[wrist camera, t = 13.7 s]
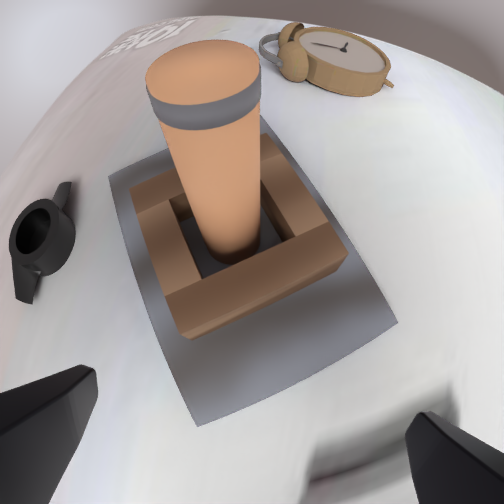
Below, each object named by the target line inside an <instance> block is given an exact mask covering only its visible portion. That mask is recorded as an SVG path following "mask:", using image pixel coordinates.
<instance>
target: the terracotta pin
mask: <svg viewBox="0 0 504 504" xmlns="http://www.w3.org/2000/svg"><path fill="white" fill-rule="evenodd" d="M145 80H146V89H147V92H148V95H149V98H150V101H151V104H152V107H153V109H154V112H155V114H156V116H157V118H158V119H159V122H160V125H161V128H162V131H163V133H164V136H165V139H166V142H167V145H168V147H169V150H170V153H171V156H172V158H173V161H174V164H175V167H176V169H177V172H178V175H179V177H180V180H181V183H182V185H183V188H184V191H185V193H186V196H187V199H188V201H189V204H190V206H191V209H192V211H193V214H194V217H195V219H196V222H197V224H198V227H199V229H200V232H201V234H202V237H203V239H204V242H205V244H206V247H207V249H208V251H209V253H210V255H211V256H212V257H213V258H214V259H215V260H217V261H219V262H221V263H223V264H228V265H235V264H237V263H239V262H241V261H243V260H246V259H248V258H250V257H252V256H254V255H255V253H256V252H257V250H258V248H259V245H260V97H261V66H260V63H259V57H258V55H257V53H256V52H255V51H254V50H253V49H251V48H250V47H248V46H246V45H244V44H242V43H238V42H234V41H229V40H204V41H197V42H193V43H189V44H185V45H182V46H179V47H177V48H175V49H172V50H170V51H168V52H167V53H165V54H163V55H162V56H160V57H159V58H158V59H157V60H155V61H154V62H153V63H152V64H151V66H150V67H149V68H148V70H147V72H146V76H145Z"/></svg>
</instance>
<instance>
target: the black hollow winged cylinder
mask: <svg viewBox="0 0 504 504" xmlns="http://www.w3.org/2000/svg"><path fill="white" fill-rule="evenodd" d="M71 183H72V182H63V183H61V184H59V186H58V188H57V191H56V193H55V195H54V197H53V199H52V201H51V200H49V199H40V200H37V201H35V202H33V203H31V204H30V205H29V206H27V207H26V208H25V209H24V210H23V211H22V212H21V214H20V215H19V216H18V218H17V219H16V221H15V223H14V225H13V228H12V230H11V234H10V238H9V251H10V255H11V258H12V270H13V279H14V288H15V296H16V299H17V300H19V301H22V302H24V303H28V304H32V303H33V297H34V291H35V287H36V283H37V280H38V277H39V276H48V275H51V274H53V273H55V272H56V271H58V270H59V269H60V268H61V267H62V266H63V265H64V264H65V262H66V261H67V259H68V258H69V256H70V254H71V252H72V249H73V246H74V242H75V227H74V224H73V222H72V220H71V219H70V218H69V217H68V216H67V215H66V214H65V213H64V212H63V211H62V208H63V207H64V205H65V203H66V201H67V198H68V195H69V192H70V188H71Z"/></svg>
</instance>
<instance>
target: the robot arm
mask: <svg viewBox="0 0 504 504" xmlns="http://www.w3.org/2000/svg"><path fill="white" fill-rule="evenodd" d="M97 398H98V386H97V377H96V371H95V370H94V369H93V368H91V367H88V366H85V365H77V366H75V367H72V368H69V369H67V370H64V371H61V372H59V373H56V374H53V375H51V376H48V377H45V378H42V379H40V380H37V381H34V382H31V383H28V384H25V385H23V386H20V387H17V388H14V389H11V390H8V391H5V392H2V393H0V504H49V502H50V500H51V498H52V496H53V494H54V492H55V490H56V488H57V486H58V484H59V482H60V480H61V478H62V476H63V474H64V472H65V470H66V468H67V466H68V464H69V462H70V461H71V459H72V457H73V455H74V453H75V451H76V449H77V447H78V445H79V443H80V441H81V439H82V436H83V434H84V431H85V429H86V426H87V423H88V421H89V418H90V416H91V413H92V411H93V408H94V406H95V404H96V401H97ZM405 441H406V446H407V451H408V457H409V462H410V468H411V474H412V479H413V483H414V486H415V490H416V494H417V498H418V501H419V504H504V453H502V452H500V451H499V450H497V449H495V448H493V447H491V446H490V445H488V444H486V443H484V442H483V441H481V440H479V439H477V438H476V437H474V436H472V435H470V434H469V433H467V432H465V431H463V430H462V429H460V428H458V427H457V426H455V425H453V424H452V423H450V422H448V421H446V420H445V419H443V418H441V417H440V416H438V415H436V414H435V413H433V412H431V411H422V412H419V413H418V414H417V415H416V416H415V418H414V419H413V421H412V423H411V424H410V426H409V427H408V429H407V431H406V433H405Z"/></svg>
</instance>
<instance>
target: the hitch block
mask: <svg viewBox="0 0 504 504" xmlns="http://www.w3.org/2000/svg"><path fill="white" fill-rule="evenodd" d="M108 177H109V182H110V186H111V191H112V195H113V199H114V203H115V207H116V211H117V215H118V219H119V223H120V227H121V230H122V234H123V238H124V241H125V245H126V248H127V251H128V255H129V258H130V261H131V265H132V268H133V271H134V274H135V277H136V280H137V283H138V286H139V289H140V292H141V295H142V298H143V301H144V304H145V307H146V309H147V312H148V315H149V318H150V320H151V323H152V326H153V328H154V331H155V334H156V336H157V339H158V341H159V344H160V346H161V349H162V351H163V354H164V356H165V358H166V361H167V363H168V366H169V368H170V370H171V373H172V375H173V377H174V379H175V382H176V384H177V386H178V388H179V391H180V393H181V395H182V397H183V399H184V401H185V403H186V406H187V408H188V410H189V412H190V414H191V416H192V418H193V420H194V422H195V424H196V426H197V427H199V426H201V425H204V424H207V423H209V422H212V421H214V420H217V419H220V418H222V417H224V416H227V415H229V414H232V413H234V412H236V411H239V410H241V409H243V408H246V407H248V406H250V405H253V404H255V403H257V402H259V401H261V400H263V399H266V398H268V397H270V396H272V395H274V394H276V393H278V392H280V391H282V390H284V389H286V388H288V387H290V386H292V385H294V384H296V383H298V382H300V381H302V380H304V379H306V378H308V377H310V376H312V375H313V374H315V373H317V372H319V371H321V370H323V369H324V368H326V367H328V366H330V365H331V364H333V363H335V362H337V361H338V360H340V359H342V358H344V357H345V356H347V355H349V354H350V353H352V352H354V351H355V350H357V349H359V348H360V347H362V346H363V345H365V344H367V343H368V342H370V341H371V340H373V339H375V338H376V337H378V336H379V335H381V334H382V333H384V332H385V331H387V330H388V329H390V328H391V327H393V326H394V325H396V324H397V323H398V321H397V319H396V318H395V316H394V314H393V312H392V310H391V309H390V307H389V305H388V303H387V301H386V300H385V298H384V296H383V294H382V293H381V291H380V289H379V287H378V286H377V284H376V282H375V281H374V279H373V277H372V275H371V274H370V272H369V270H368V269H367V267H366V265H365V264H364V262H363V261H362V259H361V257H360V256H359V254H358V252H357V251H356V249H355V248H354V246H353V244H352V243H351V241H350V240H349V238H348V237H347V235H346V233H345V232H344V230H343V229H342V227H341V226H340V224H339V223H338V221H337V220H336V218H335V217H334V215H333V214H332V212H331V211H330V209H329V208H328V206H327V205H326V203H325V202H324V200H323V199H322V197H321V196H320V194H319V193H318V192H317V190H316V189H315V187H314V186H313V184H312V183H311V182H310V180H309V179H308V177H307V176H306V175H305V173H304V172H303V170H302V169H301V168H300V166H299V165H298V163H297V162H296V161H295V159H294V158H293V157H292V155H291V154H290V153H289V151H288V150H287V149H286V147H285V146H284V145H283V143H282V142H281V141H280V139H279V138H278V137H277V136H276V134H275V133H274V132H273V130H272V129H271V128H270V126H269V125H268V124H267V123H266V121H265V120H264V119H263V118H262V116H261V115H260V245H259V248H258V250H257V252H256V253H255V255H254V256H252V257H250V258H248V259H246V260H243V261H241V262H239V263H237V264H235V265H228V264H223V263H221V262H219V261H217V260H215V259H214V258H213V257H212V256H211V255H210V253H209V251H208V249H207V247H206V244H205V242H204V239H203V237H202V234H201V232H200V229H199V227H198V224H197V222H196V219H195V217H194V214H193V211H192V209H191V206H190V204H189V201H188V199H187V196H186V193H185V191H184V188H183V185H182V183H181V180H180V177H179V175H178V172H177V169H176V167H175V164H174V161H173V158H172V156H171V153H170V150H169V148H168V149H165V150H163V151H161V152H159V153H156V154H154V155H152V156H150V157H147V158H145V159H143V160H141V161H139V162H136V163H134V164H132V165H130V166H128V167H126V168H124V169H122V170H120V171H118V172H116V173H114V174H112V175H110V176H108Z"/></svg>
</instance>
